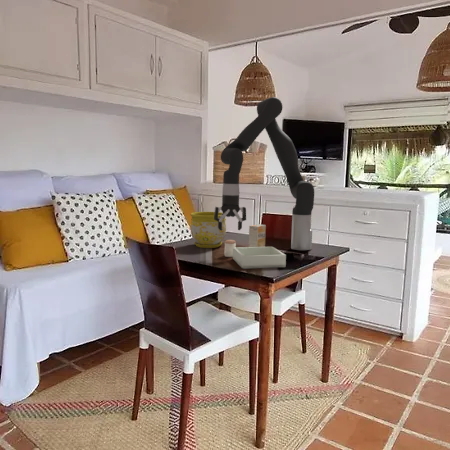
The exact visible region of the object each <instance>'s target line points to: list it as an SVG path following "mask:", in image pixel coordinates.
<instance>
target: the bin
mask: <svg viewBox="0 0 450 450" xmlns="http://www.w3.org/2000/svg"><path fill="white" fill-rule="evenodd" d="M232 259H233V260H234V261H235V263H236V264H237V265H238V266H239V267H240V268H241V269H243V270H244V269H246V270H247V269H268V268H269V269H271V268H274V269H275V268H286V265H287V261H286V260H287V254H285V253H284V252H282V251H280V250H279V249H277V248H276V247H274V246H265V247H249V246H245V247H244V246H243V247H242V246H241V247H235V248H233V257H232Z"/></svg>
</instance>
